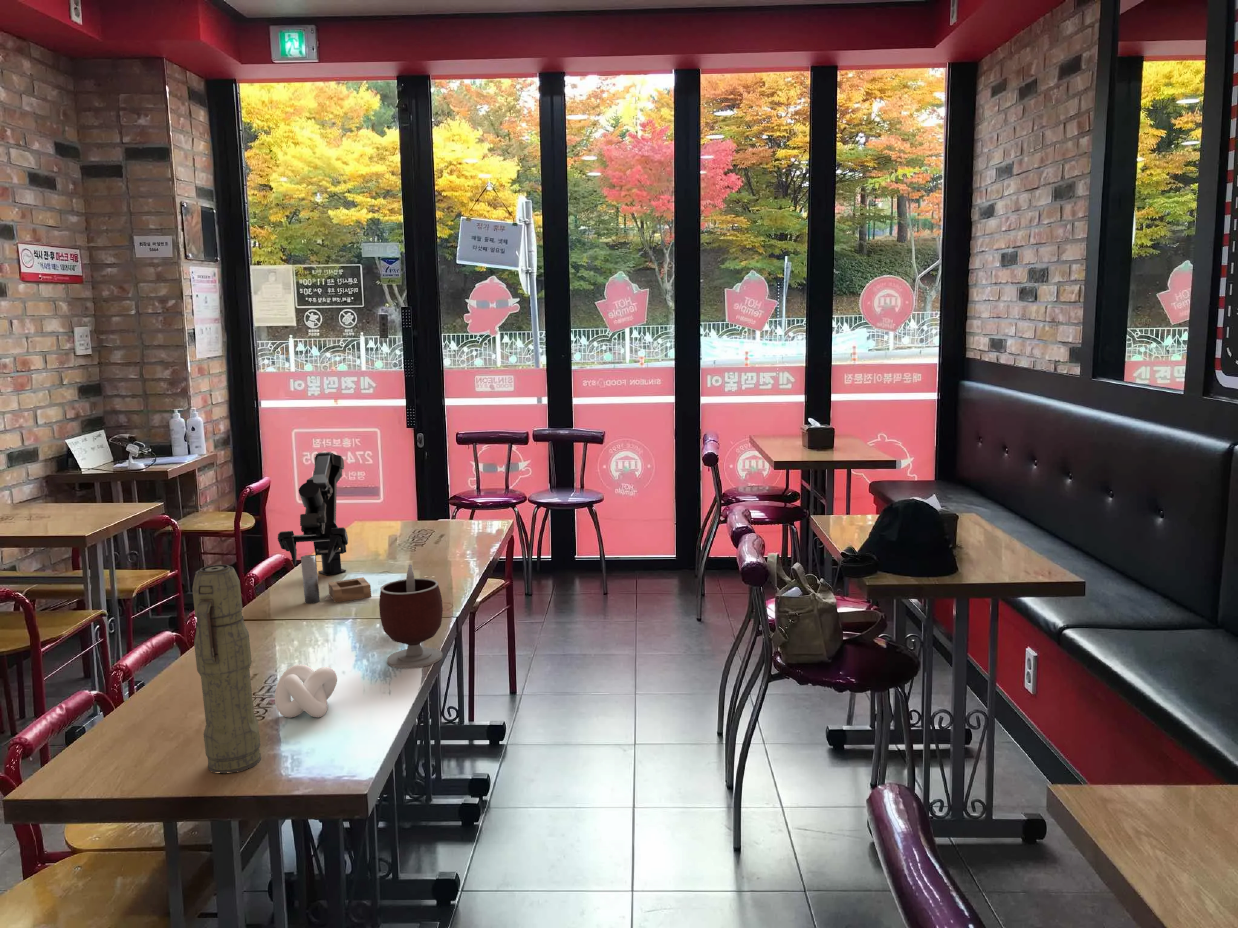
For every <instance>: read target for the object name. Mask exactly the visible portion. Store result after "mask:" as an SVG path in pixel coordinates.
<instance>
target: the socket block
mask: <svg viewBox="0 0 1238 928" xmlns="http://www.w3.org/2000/svg"><path fill="white" fill-rule="evenodd" d="M327 587H328V595H329V596H330V597H331V599H332V600H333V602H334V603H340V602H347V601H354V600H359V599H366V598H371V597H372V589H371V584H370V583H369V582H368V581H367V579H366V578H365V577H357V578H350V579H343V580H337V581H331V582H329V581H328V582H327Z"/></svg>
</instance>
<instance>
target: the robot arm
mask: <svg viewBox="0 0 1238 928" xmlns="http://www.w3.org/2000/svg"><path fill="white" fill-rule="evenodd" d="M344 468H345V460H344V458H343V457H342V456H341V455H339V454H334V452H331V451H327V452H317V453H315V456H314V469H313V473H312V476H311V477H309V478H308V479H306V481H305V482H304V483H303V484H301V485H300V486H299V488H298V493H299V497H300V499H301V502H302V504H303V507H304V508H305V513H300V514H299V526H300V530H301V533H302V534H294V533H295V532H294V530H285V531H279V533H278V534H277V541H278V544H279V546H280V548H281V549H282V550H284V551H285V552H289V553H290V556H291V560H292V563H293V566H296V565H297V556H298V555H297V551H298V550H297V543H305V542H307V543H308V542H312V543H313V547H314V549H313V550H314V553H315V554H314V555H316V557H318V556H321V567H322V568H321V570H317V574H318V573H319V574H322V575H324V576H332V575H336V574H341V573H346V572H347V569H344V568H342V561H341V560H342V559H341V554H342V555H343V554H345V553H347V546H348V544H349V536H348V533H347V529H346V528H345V527H344V526H343V527H339V526H338V525H337V494H338V493H337V490H338V487H337V485H338V482H339V481H340V479H341V478H342V476H343V470H344Z"/></svg>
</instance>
